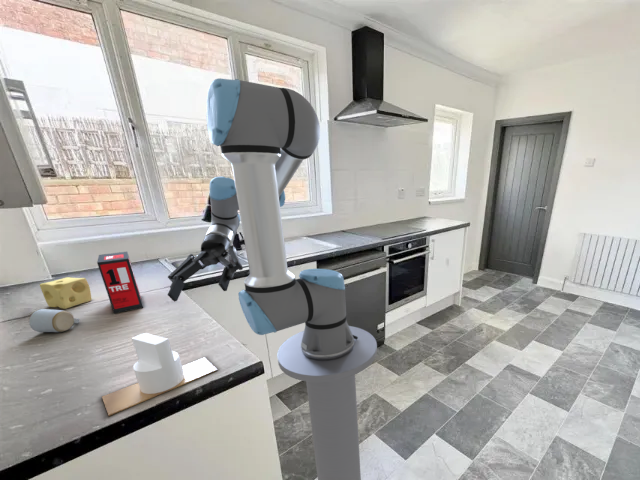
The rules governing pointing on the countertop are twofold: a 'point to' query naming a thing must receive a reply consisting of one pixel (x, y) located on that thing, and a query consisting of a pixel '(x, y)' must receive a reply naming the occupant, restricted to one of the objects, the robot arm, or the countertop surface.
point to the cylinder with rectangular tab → (156, 364)
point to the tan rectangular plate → (135, 396)
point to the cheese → (66, 292)
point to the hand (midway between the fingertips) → (197, 292)
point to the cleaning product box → (119, 281)
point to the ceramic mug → (51, 320)
